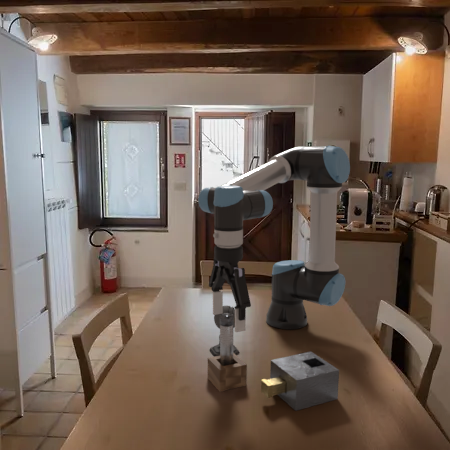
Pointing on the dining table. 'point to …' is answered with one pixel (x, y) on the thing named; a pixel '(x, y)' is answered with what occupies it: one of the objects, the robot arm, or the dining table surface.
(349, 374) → the dining table surface
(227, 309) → the figurine
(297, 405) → the socket
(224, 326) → the steel round rod
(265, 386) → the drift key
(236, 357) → the open box
